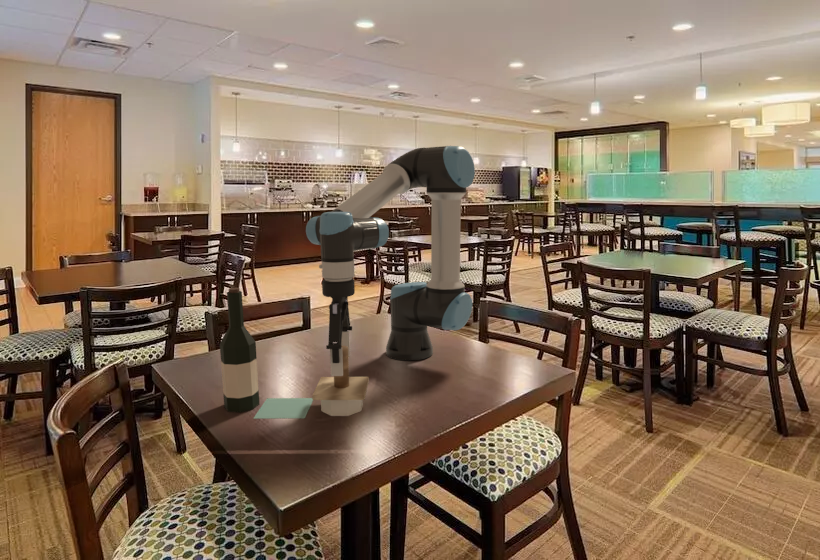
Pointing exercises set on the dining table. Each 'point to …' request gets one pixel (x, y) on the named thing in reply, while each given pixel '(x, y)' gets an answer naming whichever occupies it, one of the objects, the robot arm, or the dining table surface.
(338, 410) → the bowl
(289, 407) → the mat
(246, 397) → the wine bottle
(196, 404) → the dining table surface
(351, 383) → the beech lid
